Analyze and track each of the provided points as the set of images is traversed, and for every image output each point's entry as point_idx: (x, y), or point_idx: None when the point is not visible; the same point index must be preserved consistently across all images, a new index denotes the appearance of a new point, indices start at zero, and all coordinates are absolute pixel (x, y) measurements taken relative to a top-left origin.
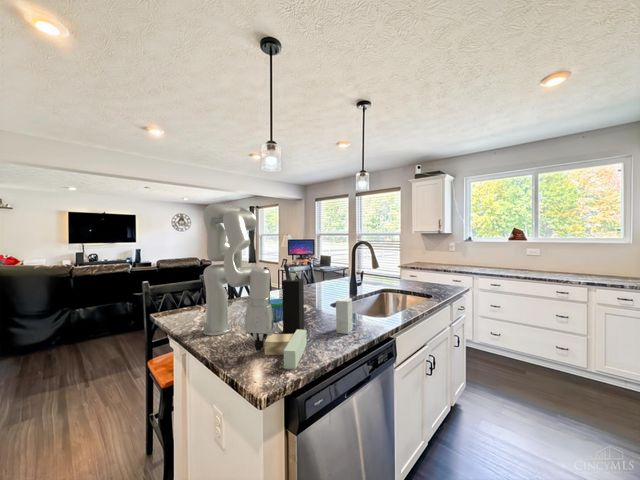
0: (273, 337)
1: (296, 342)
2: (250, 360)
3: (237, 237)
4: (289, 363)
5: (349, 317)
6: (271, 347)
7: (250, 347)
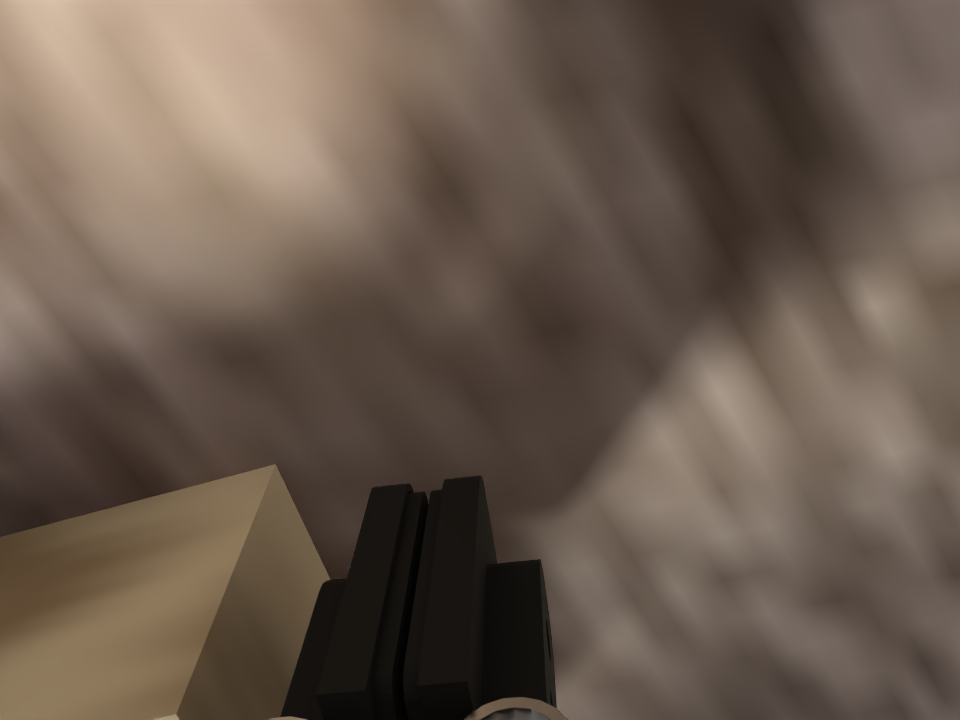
0: None
1: None
2: (440, 114)
3: None
4: None
5: None
6: (52, 624)
7: (788, 680)
